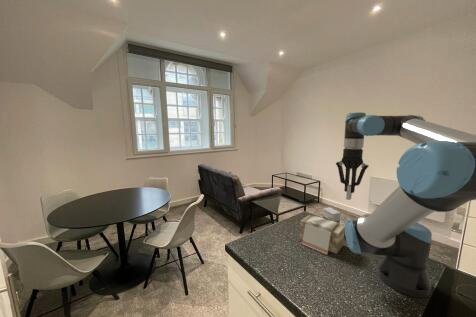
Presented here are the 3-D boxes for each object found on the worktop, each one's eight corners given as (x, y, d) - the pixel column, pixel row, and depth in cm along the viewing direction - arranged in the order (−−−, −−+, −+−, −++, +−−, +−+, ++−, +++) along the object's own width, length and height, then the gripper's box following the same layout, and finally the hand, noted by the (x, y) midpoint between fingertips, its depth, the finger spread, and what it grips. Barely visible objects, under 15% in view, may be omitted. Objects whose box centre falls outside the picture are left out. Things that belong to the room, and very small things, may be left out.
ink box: (321, 226, 114) (322, 207, 112) (328, 225, 115) (329, 206, 114) (332, 234, 106) (333, 213, 104) (339, 232, 107) (341, 212, 106)
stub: (331, 232, 89) (330, 232, 89) (327, 254, 89) (326, 254, 88) (306, 223, 98) (305, 223, 97) (302, 243, 97) (301, 244, 96)
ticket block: (343, 244, 96) (345, 224, 94) (336, 254, 89) (338, 231, 87) (308, 231, 108) (309, 213, 107) (299, 239, 101) (300, 219, 99)
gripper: (372, 148, 85) (366, 200, 89) (339, 146, 94) (336, 193, 97) (368, 149, 80) (363, 204, 83) (334, 147, 89) (331, 197, 92)
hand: (348, 198), depth 90 cm, fingers closed
